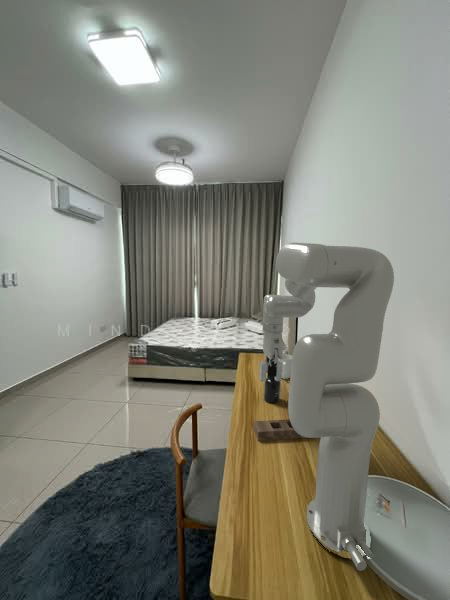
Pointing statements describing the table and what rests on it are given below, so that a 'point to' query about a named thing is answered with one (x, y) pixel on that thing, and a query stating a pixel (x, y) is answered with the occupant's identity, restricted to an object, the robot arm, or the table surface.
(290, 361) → the mug
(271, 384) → the supplement bottle
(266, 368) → the grey boxy piece
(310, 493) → the table surface
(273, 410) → the table surface
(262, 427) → the rail
